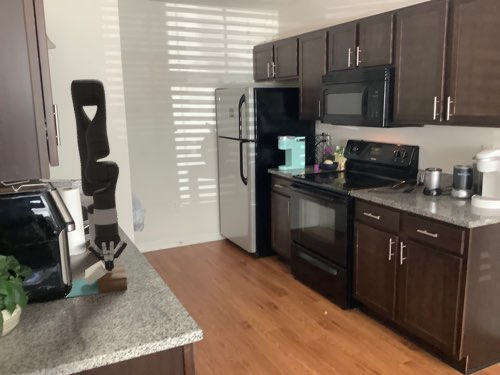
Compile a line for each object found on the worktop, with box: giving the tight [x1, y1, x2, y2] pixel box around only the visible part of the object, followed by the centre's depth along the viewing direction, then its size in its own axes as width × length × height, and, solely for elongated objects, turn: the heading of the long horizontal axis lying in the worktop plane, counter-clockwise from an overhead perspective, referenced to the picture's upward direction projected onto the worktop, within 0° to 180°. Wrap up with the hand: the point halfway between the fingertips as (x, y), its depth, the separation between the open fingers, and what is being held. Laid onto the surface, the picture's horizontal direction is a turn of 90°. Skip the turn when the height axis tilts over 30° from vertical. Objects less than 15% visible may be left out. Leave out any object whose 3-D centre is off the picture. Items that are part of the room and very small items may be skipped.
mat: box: [64, 278, 100, 299], centre depth 145 cm, size 14×10×1 cm
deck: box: [98, 264, 128, 294], centre depth 148 cm, size 13×9×4 cm
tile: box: [84, 260, 106, 285], centre depth 146 cm, size 9×6×2 cm, turn 21°
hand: (109, 270), depth 147 cm, fingers closed
